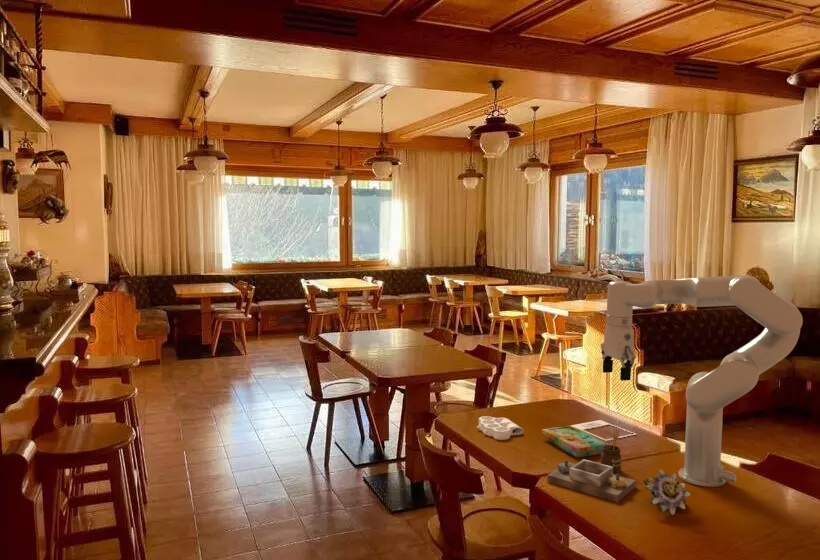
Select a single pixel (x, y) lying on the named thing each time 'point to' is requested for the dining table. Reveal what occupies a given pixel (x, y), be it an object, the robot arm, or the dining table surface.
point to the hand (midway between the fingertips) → (616, 376)
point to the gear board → (592, 479)
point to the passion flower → (667, 492)
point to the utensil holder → (612, 454)
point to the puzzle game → (574, 441)
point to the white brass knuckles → (498, 427)
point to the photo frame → (595, 425)
